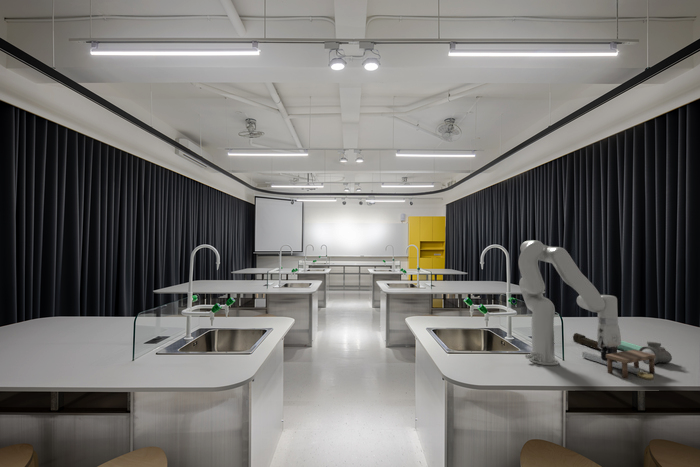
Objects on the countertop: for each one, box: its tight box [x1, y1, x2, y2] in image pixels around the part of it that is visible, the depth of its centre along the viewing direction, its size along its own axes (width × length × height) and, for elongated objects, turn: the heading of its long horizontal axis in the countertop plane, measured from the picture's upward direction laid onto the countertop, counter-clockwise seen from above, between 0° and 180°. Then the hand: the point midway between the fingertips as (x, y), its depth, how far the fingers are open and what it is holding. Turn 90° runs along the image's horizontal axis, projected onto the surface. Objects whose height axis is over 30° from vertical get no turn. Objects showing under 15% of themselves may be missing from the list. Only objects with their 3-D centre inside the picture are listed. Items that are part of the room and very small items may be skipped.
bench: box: [606, 350, 655, 380], centre depth 146 cm, size 20×8×8 cm, turn 109°
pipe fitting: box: [639, 341, 673, 365], centre depth 158 cm, size 12×8×10 cm
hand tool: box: [572, 332, 601, 351], centre depth 183 cm, size 23×5×6 cm, turn 6°
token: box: [637, 370, 654, 381], centre depth 140 cm, size 5×5×2 cm
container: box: [617, 340, 642, 352], centre depth 175 cm, size 6×6×25 cm
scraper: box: [581, 347, 641, 376], centre depth 154 cm, size 4×24×8 cm, turn 19°
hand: (609, 359), depth 154 cm, fingers closed on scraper, 3 cm apart
